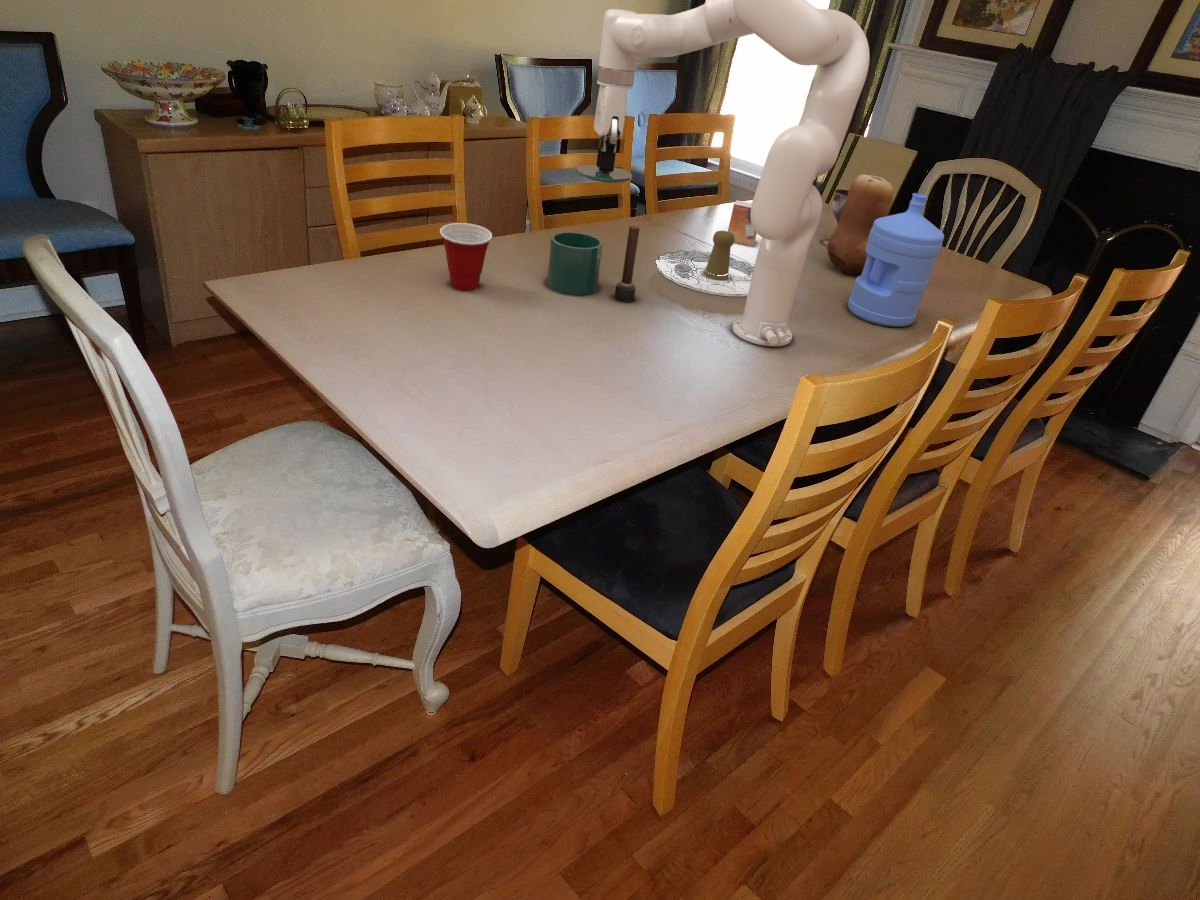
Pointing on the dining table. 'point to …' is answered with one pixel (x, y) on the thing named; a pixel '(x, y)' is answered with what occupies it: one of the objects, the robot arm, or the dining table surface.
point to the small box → (742, 224)
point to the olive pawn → (720, 255)
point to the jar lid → (603, 173)
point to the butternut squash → (859, 222)
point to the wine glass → (838, 205)
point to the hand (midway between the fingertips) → (604, 168)
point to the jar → (574, 263)
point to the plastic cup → (465, 253)
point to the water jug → (896, 267)
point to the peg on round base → (628, 268)
